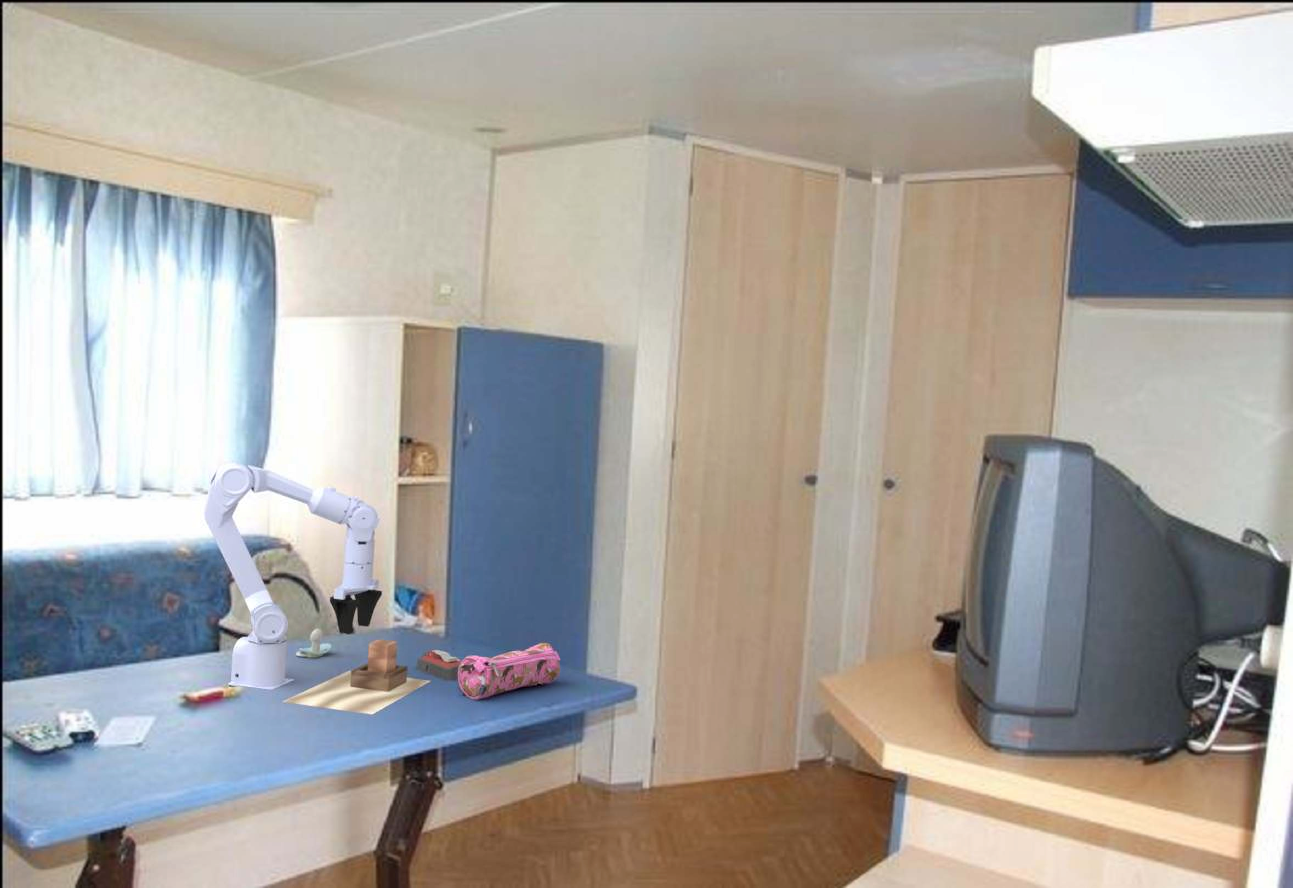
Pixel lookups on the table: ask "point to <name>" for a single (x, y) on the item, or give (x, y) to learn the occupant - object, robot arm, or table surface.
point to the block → (382, 656)
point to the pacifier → (315, 646)
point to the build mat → (360, 690)
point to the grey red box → (439, 664)
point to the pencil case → (508, 671)
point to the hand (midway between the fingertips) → (354, 629)
